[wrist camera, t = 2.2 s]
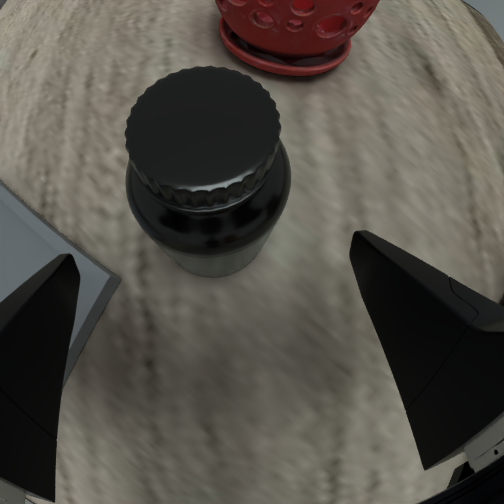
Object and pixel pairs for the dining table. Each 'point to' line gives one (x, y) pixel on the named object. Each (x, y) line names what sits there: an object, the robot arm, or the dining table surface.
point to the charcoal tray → (41, 253)
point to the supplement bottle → (207, 168)
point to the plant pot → (292, 32)
